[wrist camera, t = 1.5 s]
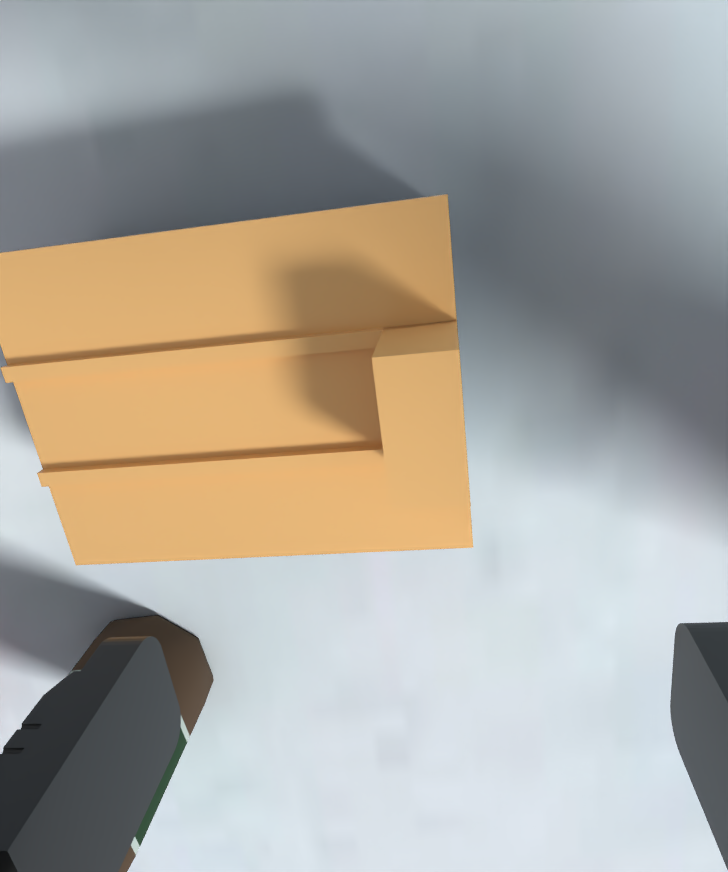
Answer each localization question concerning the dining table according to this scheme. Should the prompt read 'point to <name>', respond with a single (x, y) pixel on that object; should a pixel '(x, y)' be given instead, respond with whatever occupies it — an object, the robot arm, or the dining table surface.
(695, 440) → the dining table surface
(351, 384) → the lid
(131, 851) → the beer bottle
